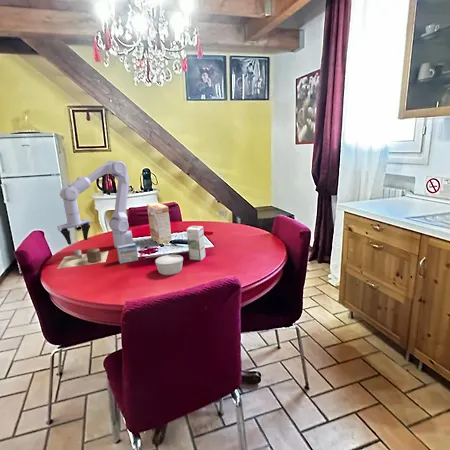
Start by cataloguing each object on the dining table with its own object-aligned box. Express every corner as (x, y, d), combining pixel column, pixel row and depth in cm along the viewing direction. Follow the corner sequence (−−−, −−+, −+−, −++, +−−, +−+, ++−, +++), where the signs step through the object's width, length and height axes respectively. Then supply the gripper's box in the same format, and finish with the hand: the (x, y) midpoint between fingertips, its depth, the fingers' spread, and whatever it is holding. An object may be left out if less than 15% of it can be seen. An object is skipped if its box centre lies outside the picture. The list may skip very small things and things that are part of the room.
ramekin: (187, 266, 142) (186, 254, 141) (178, 277, 131) (177, 264, 130) (163, 265, 145) (161, 254, 143) (152, 276, 134) (150, 263, 133)
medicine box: (121, 267, 146) (118, 248, 144) (119, 264, 150) (116, 245, 147) (139, 263, 149) (136, 244, 147) (136, 260, 153) (134, 242, 151)
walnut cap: (101, 257, 155) (100, 247, 153) (100, 261, 149) (98, 251, 148) (89, 259, 153) (87, 249, 152) (87, 263, 148) (85, 252, 147)
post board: (109, 253, 164) (107, 244, 163) (106, 265, 149) (104, 254, 148) (65, 259, 160) (63, 249, 158) (57, 271, 145) (55, 261, 143)
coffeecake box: (150, 238, 185) (146, 204, 180) (163, 236, 188) (159, 202, 183) (159, 245, 172) (155, 208, 167) (172, 242, 175) (168, 206, 170)
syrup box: (206, 256, 152) (203, 225, 148) (200, 261, 147) (198, 229, 143) (194, 255, 154) (191, 225, 150) (189, 260, 148) (186, 228, 145)
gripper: (83, 209, 159) (88, 236, 163) (52, 215, 149) (58, 244, 153) (90, 210, 155) (95, 238, 158) (59, 217, 144) (64, 247, 148)
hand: (77, 241), depth 155 cm, fingers open, 7 cm apart
